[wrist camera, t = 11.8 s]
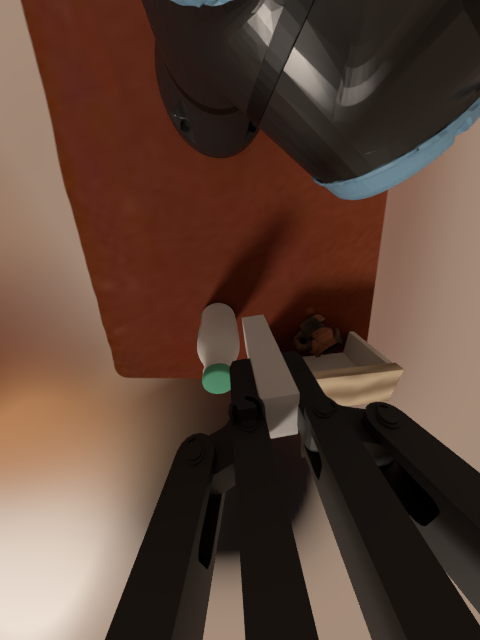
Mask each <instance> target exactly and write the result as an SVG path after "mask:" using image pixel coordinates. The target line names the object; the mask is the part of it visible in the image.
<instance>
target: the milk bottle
mask: <svg viewBox="0 0 480 640" xmlns="http://www.w3.org/2000/svg"><path fill="white" fill-rule="evenodd" d="M239 347H240V343H239V335H238V329H237V324H236V318H235V314H234V312H233V310H232V309H231V308H230V307H229V306H228V305H226V304H223V303H214V304H211V305H209V306H207V307H206V308H205V309H204V311H203V313H202V316H201V321H200V327H199V334H198V341H197V351H198V355H199V358H200V360H201V362H202V363H203V365H204V367H205V368H204V370H203V377H202V383H203V386H204V388H205V389H206V390H207V391H209V392H211V393H215V394H220V393H225V392H227V391H229V390H230V389H231V387H230V372H229V368H230V365H231V363H232V361H236V359H237V357H238V354H239Z"/></svg>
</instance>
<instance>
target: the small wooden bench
mask: <svg viewBox="0 0 480 640" xmlns="http://www.w3.org/2000/svg"><path fill="white" fill-rule="evenodd" d="M303 359H304V360H305V362H306V364H307V365H308V367H309V369H310V370H311V372H312V374H313V375H314V377H315V379H316V380H317V382H318V384H319V385H320V387H321V388H322V390H323V392H324V393H325V395H326V396H327V397H329V398H331V399H332V400H334V401H335V402H336V403H337V404H339V405H342V406H351V405H359V404H366V403H372V402H382V401H388V400H389V398H390V396H391V394H392V392H393V390H394V388H395V387H396V385H397V382H398V381H399V379H400V377H401V375H402V373H403V371H404V369H403V368H402V367H400V366H399V365H398V364H396V363H392V362H391V361H389V360H388V359H387V358H386V357H384V356H383V355H382V354H381V353H380V352H378V351H377V350H376V349H375V348H373V347H372V346H371V345H370V344H368V343H367V342H366V341H365V340H363V339H362V338H361V337H360V336H359V335H357V334H356V333H355V332H354V331H352V332H349V334H348V337H347V341H346V344H345V348H344V351H343V353H335V354H326V355H321V357H318V358H316V357H315V356H305V357H303Z"/></svg>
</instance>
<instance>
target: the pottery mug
mask: <svg viewBox="0 0 480 640" xmlns="http://www.w3.org/2000/svg"><path fill="white" fill-rule="evenodd" d="M321 321H325V318H324V317H322V316H321V315H320V314H316V315H314V316H311V317H309V318H307V319H306V320H304V321H303V322H302V323H301V324H300V327H301V330H302V331H299V332H298V334H297V335H296V336H295V337H294V340H293V345H294V346H295V347H296V349H298V350H301V351H304V350H310V353H312V354H314V355H315V357H316V358H318V357H321V355H320V353H321V352H322V353H323V354H324V355H326V354H328V353H330V352H332V351H333V350H335V349H336V348H337V347H339V346H340V345H341V344H342V342H343V340H342V338H340V332H339V330H338V329H337V328H335V334H334V336H333V332H332V329H331V328H329V327H325V325H323V324H322V323H321ZM310 336H311V337H312V338H314V339H313V340H312V341H311V340H310ZM299 340H300V341H301V342H302V344H301V343H300V342H299Z"/></svg>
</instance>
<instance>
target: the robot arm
mask: <svg viewBox="0 0 480 640" xmlns="http://www.w3.org/2000/svg"><path fill="white" fill-rule="evenodd" d="M142 3H143V5H144V8H145V11H146V14H147V17H148V19H149V22H150V25H151V28H152V31H153V33H154V36H155V69H156V76H157V81H158V86H159V90H160V94H161V97H162V100H163V103H164V105H165V108H166V110H167V112H168V115H169V117H170V119H171V121H172V123H173V125H174V126H175V128H176V130H177V131H178V132H179V134H180V135H181V136H182V138H183V139H184V140H185V141H186V142H187V143H188V144H189V145H190V146H191V147H192V148H194V149H195V150H197V151H198V152H200V153H202V154H204V155H206V156H210V157H214V158H226V157H231V156H233V155H236V154H238V153H239V152H241V151H242V150H244V149H245V148H246V147H247V146H248V145H249V144H250V143H251V142H252V141H253V139H254V138H255V137H256V135H257V133H258V132H259V130H260V129H261V130H262V131H263V132H264V133H265V134H266V135H267V136H268V137H270V138H271V139H272V140H273V141H274V142H275V143H276V144H277V145H278V146H279V147H280V148H282V149H283V150H284V151H285V152H286V153H287V154H288V155H289V156H290V157H291V158H292V159H294V160H295V161H296V162H297V163H298V164H299V165H300V166H301V167H302V168H303V169H305V170H306V171H307V172H308V173H309V174H310V175H311V176H312V179H313V180H314V181H315V182H316V183H317V184H319V185H321V186H324V187H326V188H327V189H328V190H329V191H331V192H332V193H333V194H334V195H336V196H337V197H339V198H341V199H349V200H359V199H364V198H368V197H371V196H374V195H377V194H379V193H381V192H384V191H386V190H388V189H390V188H392V187H394V186H396V185H397V184H399V183H401V182H402V181H405V180H406V179H408V178H409V177H411V176H413V175H414V174H416V173H417V172H419V171H420V170H421V169H423V168H424V167H426V166H427V165H428V164H430V163H431V162H432V161H433V160H435V159H436V158H437V157H439V156H440V155H441V154H442V153H443V152H445V151H446V150H447V149H448V148H449V147H450V146H451V145H452V144H453V143H454V137H455V136H457V135H458V134H461V133H462V132H464V131H466V130H468V129H469V128H470V127H471V126H472V125H473V124H474V123H475V122H476V120H477V119H478V118H479V117H480V0H142ZM242 323H243V331H244V338H245V346H246V352H247V356H248V359H242V360H236V361H232V363H231V365H230V368H229V372H230V387H231V401H232V402H231V403H230V405H229V411H228V413H229V417H230V420H229V421H228V423H227V424H226V425H225V426H224V427H223V428H221V429H220V430H218V431H216V432H215V433H213V434H211V435H209V436H208V435H206V434H203V433H198V434H193V435H191V436H190V437H188V438H187V439H186V440H185V441H184V442H183V443H182V444H181V446H180V447H179V449H178V451H177V453H176V456H175V458H174V461H173V464H172V466H171V469H170V471H169V474H168V476H167V479H166V482H165V484H164V487H163V490H162V492H161V495H160V497H159V500H158V503H157V506H156V508H155V510H154V513H153V516H152V518H151V521H150V523H149V526H148V529H147V531H146V534H145V536H144V539H143V542H142V545H141V547H140V549H139V552H138V555H137V557H136V560H135V562H134V565H133V568H132V570H131V573H130V575H129V578H128V581H127V583H126V586H125V589H124V591H123V594H122V596H121V599H120V602H119V604H118V607H117V609H116V612H115V615H114V617H113V620H112V622H111V625H110V628H109V630H108V633H107V636H106V638H105V640H203V633H204V627H205V620H206V614H207V607H208V601H209V595H210V588H211V581H212V576H213V569H214V563H215V556H216V549H217V543H218V537H219V530H220V524H221V518H222V511H223V505H224V498H225V492H226V491H227V490H228V489H230V488H231V487H233V486H234V485H236V499H237V515H238V531H239V546H240V562H241V577H242V593H243V609H244V624H245V640H319V639H318V635H317V630H316V626H315V622H314V618H313V614H312V610H311V605H310V601H309V597H308V593H307V589H306V584H305V580H304V576H303V572H302V568H301V563H300V559H299V555H298V551H297V547H296V542H295V538H294V534H293V530H292V526H291V522H290V518H289V513H288V509H287V505H286V501H285V496H284V493H283V488H282V484H281V480H280V475H279V471H278V468H277V463H276V459H275V455H274V451H273V446H272V442H271V438H276V437H282V436H287V435H293V434H297V433H298V429H299V431H300V434H301V437H302V445H301V454H302V457H305V456H306V459H307V462H308V465H309V467H310V470H311V473H312V475H313V478H314V481H315V484H316V486H317V489H318V492H319V495H320V498H321V500H322V503H323V506H324V509H325V511H326V514H327V517H328V520H329V522H330V525H331V528H332V531H333V533H334V536H335V539H336V542H337V544H338V547H339V550H340V553H341V556H342V558H343V561H344V564H345V567H346V569H347V572H348V575H349V578H350V580H351V583H352V586H353V589H354V591H355V594H356V597H357V599H358V602H359V605H360V608H361V610H362V613H363V616H364V619H365V621H366V625H367V627H368V630H369V633H370V635H371V638H372V640H480V625H479V624H478V622H477V621H476V619H475V618H474V616H473V614H472V613H471V611H470V610H469V608H468V607H467V605H466V603H465V602H464V600H463V599H462V597H461V596H460V594H459V592H458V591H457V589H456V588H455V586H454V585H453V583H452V582H451V580H450V578H451V579H452V580H453V581H454V582H455V584H456V585H457V586H458V588H459V589H460V590H461V591H462V593H463V594H464V595H465V596H466V598H467V599H468V600H469V601H470V603H471V604H472V605H473V606H474V608H475V609H476V610H477V611H478V612H479V614H480V473H479V472H478V471H476V470H475V469H474V468H473V467H471V466H470V465H469V464H468V463H466V462H465V461H464V460H463V459H461V458H460V457H459V456H458V455H456V454H455V453H454V452H453V451H451V450H450V449H449V448H448V447H446V446H445V445H444V444H443V443H441V442H440V441H439V440H437V439H436V438H435V437H434V436H432V435H431V434H430V433H429V432H427V431H426V430H425V429H424V428H422V427H421V426H420V425H419V424H417V423H416V422H415V421H413V420H412V419H411V418H409V417H408V416H407V415H406V414H405V413H403V412H402V411H401V410H399V409H398V408H396V407H394V406H392V405H390V404H387V403H384V402H372V403H370V404H369V405H367V406H366V409H359V408H352V407H346V406H342V405H339V404H337V403H336V402H335V401H334V400H332V399H331V398H329V397H327V396H326V395H325V393H324V392H323V390H322V388H321V387H320V385H319V384H318V382H317V380H316V379H315V377H314V375H313V374H312V372H311V370H310V369H309V367H308V365H307V364H306V362H305V360H304V359H303V357H302V356H301V355H300V354H299V353H297V352H296V351H295V350H293V351H287V352H280V350H279V348H278V345H277V343H276V341H275V339H274V337H273V335H272V332H271V330H270V328H269V326H268V324H267V322H266V320H265V317H264V315H257V316H251V317H245V318H242ZM444 570H445V571H446V572H445V571H444ZM446 573H447V574H448V575H449V576H450V578H449V577H448V575H447V574H446Z"/></svg>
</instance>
